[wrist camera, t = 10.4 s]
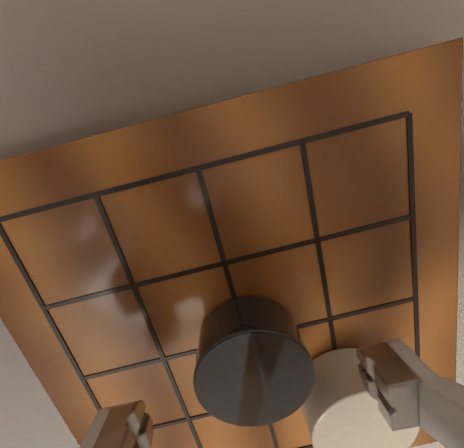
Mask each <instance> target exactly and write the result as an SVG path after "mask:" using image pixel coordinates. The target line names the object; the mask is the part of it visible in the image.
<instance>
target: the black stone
mask: <svg viewBox="0 0 464 448" xmlns="http://www.w3.org/2000/svg"><path fill="white" fill-rule="evenodd" d="M314 382H315V366H314V363H313V360H312V358H311V355H310V353H309V351H308V349H307V347H306V344H305V342H304V340H303V338H302V336H301V333H300V331H299V329H298V327H297V325H296V322H295V320H294V318H293V317H292V315H291V314H290V313H289V311H288V310H287V309H286V308H284V307H283V306H282V305H280V304H279V303H277V302H275V301H273V300H271V299H268V298H264V297H259V296H242V297H237V298H234V299H230V300H228V301H226V302H224V303H222V304H220V305H219V306H217V307H216V308H215V309H213V310H212V311H211V312H210V313H209V314H208V316H207V317H206V318H205V320H204V322H203V323H202V325H201V328H200V331H199V336H198V344H197V351H196V359H195V367H194V374H193V387H194V391H195V395H196V397H197V399H198V401H199V403H200V404H201V406H202V407H203V408H204V409H205V410H206V411H207V412H208V413H209V414H210V415H212V416H213V417H215V418H216V419H218V420H220V421H223V422H225V423H228V424H231V425H236V426H243V427H256V426H264V425H268V424H272V423H275V422H278V421H280V420H282V419H284V418H286V417H288V416H290V415H291V414H293V413H294V412H295V411H297V410H298V409H299V408H300V407H301V406H302V405H303V404H304V403H305V401H306V400H307V399H308V397H309V395H310V394H311V392H312V389H313V386H314Z"/></svg>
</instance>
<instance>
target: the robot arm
mask: <svg viewBox="0 0 464 448" xmlns="http://www.w3.org/2000/svg"><path fill="white" fill-rule="evenodd" d="M356 356H357V358H358V359H359V361H360V363H359V365H358V370H359V375H360V378H361V380H362V383H363V385H364V387H365V389H366V390H367V392H368V394H369V395H370V396H371V397H372V398H374V399H375V400H377V401H378V409H379V411H380V413H381V414H382V416H383V417H384V419H385V420H386V422H387V424H388V425H389V427H390V428H391V430H392V431H397V430H402V429H408V428H413V427H418V426H420V428H421V429H422V430H423V431H425V432H426V433H427V434H429V435H430V436H431V437H433V438H434V439H435V440H437V441H438V442H439V443H441V444H442V445H444V446H445V447H446V448H464V386H463V385H461V384H458V383H456V382H454V381H452V380H450V379H448V378H446V377H442V378H439V377H438V376H437V375H436V374H435V373H434V372H433V371H432V370H431V369H430V368H429V367H428V366H427V365H426V364H425V363H424V362H423V361H422V360H421V359H420V358H419V357H418V356H417V355H416V354H415V353H414V352H413V351H412V350H411V349H410V348H409V347H408V346H407V345H406V344H405V343H404V342H403V341H402V340H400V339H398V338H396V339H392V340H388V341H384V342H379V343H375V344H371V345H367V346H363V347H359V348H357V349H356ZM145 408H146V405H145V403H144V402H143V400H138V401H133V402H128V403H123V404H118V405H114V406H110V407H105V408H101V409H100V410H99V411H98V412H97V414H96V416H95V418H94V420H93V422H92V424H91V426H90V428H89V430H88V432H87V434H86V436H85V438H84V440H83V442H82V444H81V446H80V448H150V447H151V444H152V440H153V428H154V426H153V421H152V418H151V416H150V415H149V414H148V413H146V412H144V411H145Z"/></svg>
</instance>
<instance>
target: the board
mask: <svg viewBox="0 0 464 448" xmlns="http://www.w3.org/2000/svg"><path fill="white" fill-rule="evenodd" d="M462 54H463V38H458V39H454V40H451V41H447V42H443V43H439V44H436V45H432V46H428V47H424V48H421V49H417V50H413V51H409V52H406V53H402V54H398V55H394V56H391V57H387V58H383V59H379V60H376V61H372V62H368V63H364V64H361V65H357V66H353V67H349V68H346V69H342V70H338V71H334V72H330V73H327V74H323V75H319V76H315V77H312V78H308V79H304V80H300V81H297V82H293V83H289V84H285V85H282V86H278V87H274V88H270V89H267V90H263V91H259V92H255V93H252V94H248V95H244V96H240V97H237V98H233V99H229V100H225V101H222V102H218V103H214V104H210V105H207V106H203V107H199V108H195V109H191V110H188V111H184V112H180V113H176V114H173V115H169V116H165V117H161V118H158V119H154V120H150V121H146V122H143V123H139V124H135V125H131V126H128V127H124V128H120V129H116V130H113V131H109V132H105V133H101V134H98V135H94V136H90V137H86V138H83V139H79V140H75V141H71V142H67V143H64V144H60V145H56V146H52V147H49V148H45V149H41V150H37V151H34V152H30V153H26V154H22V155H19V156H15V157H11V158H7V159H4V160H0V317H1V319H2V321H3V322H4V324H5V325H6V327H7V329H8V330H9V332H10V334H11V335H12V337H13V338H14V340H15V342H16V343H17V345H18V347H19V348H20V350H21V351H22V353H23V355H24V356H25V358H26V359H27V361H28V363H29V364H30V366H31V368H32V369H33V371H34V372H35V374H36V376H37V377H38V379H39V381H40V382H41V384H42V385H43V387H44V389H45V390H46V392H47V393H48V395H49V397H50V398H51V400H52V402H53V403H54V405H55V406H56V408H57V410H58V411H59V413H60V415H61V416H62V418H63V419H64V421H65V423H66V424H67V426H68V428H69V429H70V431H71V432H72V434H73V436H74V437H75V439H76V440H77V442H78V444H79V445H80V446H81V444H82V442H83V440H84V438H85V436H86V434H87V432H88V430H89V428H90V426H91V424H92V422H93V420H94V418H95V416H96V414H97V412H98V411H99V410H100V409H101V408H105V407H110V406H114V405H118V404H123V403H128V402H133V401H138V400H143V402H144V403H145V405H146V408H145V411H144V412H146V413H148V414H149V415H150V416H151V418H152V421H153V426H154V428H153V440H152V444H151V447H150V448H313V446H312V442H311V439H310V436H309V433H308V430H307V427H306V424H305V420H304V417H303V414H302V411H301V408H299V409H298V410H297V411H295V412H294V413H293V414H291V415H290V416H288V417H286V418H284V419H282V420H280V421H278V422H275V423H272V424H268V425H264V426H256V427H243V426H236V425H231V424H228V423H225V422H223V421H220V420H218V419H216V418H215V417H213V416H212V415H210V414H209V413H208V412H207V411H206V410H205V409H204V408H203V407H202V406H201V404H200V403H199V401H198V399H197V397H196V395H195V391H194V387H193V374H194V367H195V359H196V351H197V344H198V336H199V331H200V328H201V325H202V323H203V322H204V320H205V318H206V317H207V316H208V314H209V313H210V312H211V311H212V310H213V309H215V308H216V307H217V306H219V305H220V304H222V303H224V302H226V301H228V300H230V299H234V298H237V297H242V296H259V297H264V298H268V299H271V300H273V301H275V302H277V303H279V304H280V305H282V306H283V307H284V308H286V309H287V310H288V311H289V313H290V314H291V315H292V317H293V318H294V320H295V322H296V325H297V327H298V329H299V331H300V333H301V336H302V338H303V340H304V342H305V344H306V347H307V349H308V351H309V353H310V355H311V358H312V360H314V359H315V358H317V357H318V356H320V355H322V354H324V353H326V352H329V351H332V350H336V349H341V348H356V349H357V348H359V347H363V346H367V345H371V344H375V343H379V342H384V341H388V340H392V339H396V338H398V339H400V340H402V341H403V342H404V343H405V344H406V345H407V346H408V347H409V348H410V349H411V350H412V351H413V352H414V353H415V354H416V355H417V356H418V357H419V358H420V359H421V360H422V361H423V362H424V363H425V364H426V365H427V366H428V367H429V368H430V369H431V370H432V371H433V372H434V373H435V374H436V375H437V376H438V377H439V378H442V377H446V378H448V379H450V380H452V381H454V382H456V342H457V294H458V246H459V198H460V150H461V102H462ZM436 441H437V440H435V439H434V438H433V437H431V436H430V435H429V434H427V433H426V432H425V431H423V430H422V429H421V428H420V429H419V432H418V435H417V437H416V439H415V441H414V442H413V443H412V445H411V446H410V447H414V446H419V445H423V444H428V443H432V442H436ZM410 447H409V448H410Z"/></svg>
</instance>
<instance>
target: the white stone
mask: <svg viewBox="0 0 464 448" xmlns="http://www.w3.org/2000/svg"><path fill="white" fill-rule="evenodd" d="M313 363H314V366H315V382H314V386H313V389H312V392H311V394H310V395H309V397H308V399H307V400H306V401H305V403H304V404H303V405H302V406H301V407H300V408H301V411H302V414H303V417H304V420H305V424H306V427H307V430H308V433H309V436H310V439H311V442H312V446H313V448H409V447H410V446H411V445H412V443H413V442H414V441H415V439H416V437H417V435H418V432H419V429H420V426H418V427H413V428H408V429H402V430H397V431H392V430H391V428H390V427H389V425H388V424H387V422H386V420H385V419H384V417H383V416H382V414H381V413H380V411H379V409H378V401H377V400H375V399H374V398H372V397H371V396H370V395H369V394H368V392H367V390H366V389H365V387H364V385H363V383H362V380H361V378H360V375H359V370H358V365H359V363H360V361H359V359H358V358H357V356H356V348H341V349H336V350H332V351H329V352H326V353H324V354H322V355H320V356H318V357H317V358H315V359H314V360H313Z"/></svg>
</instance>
